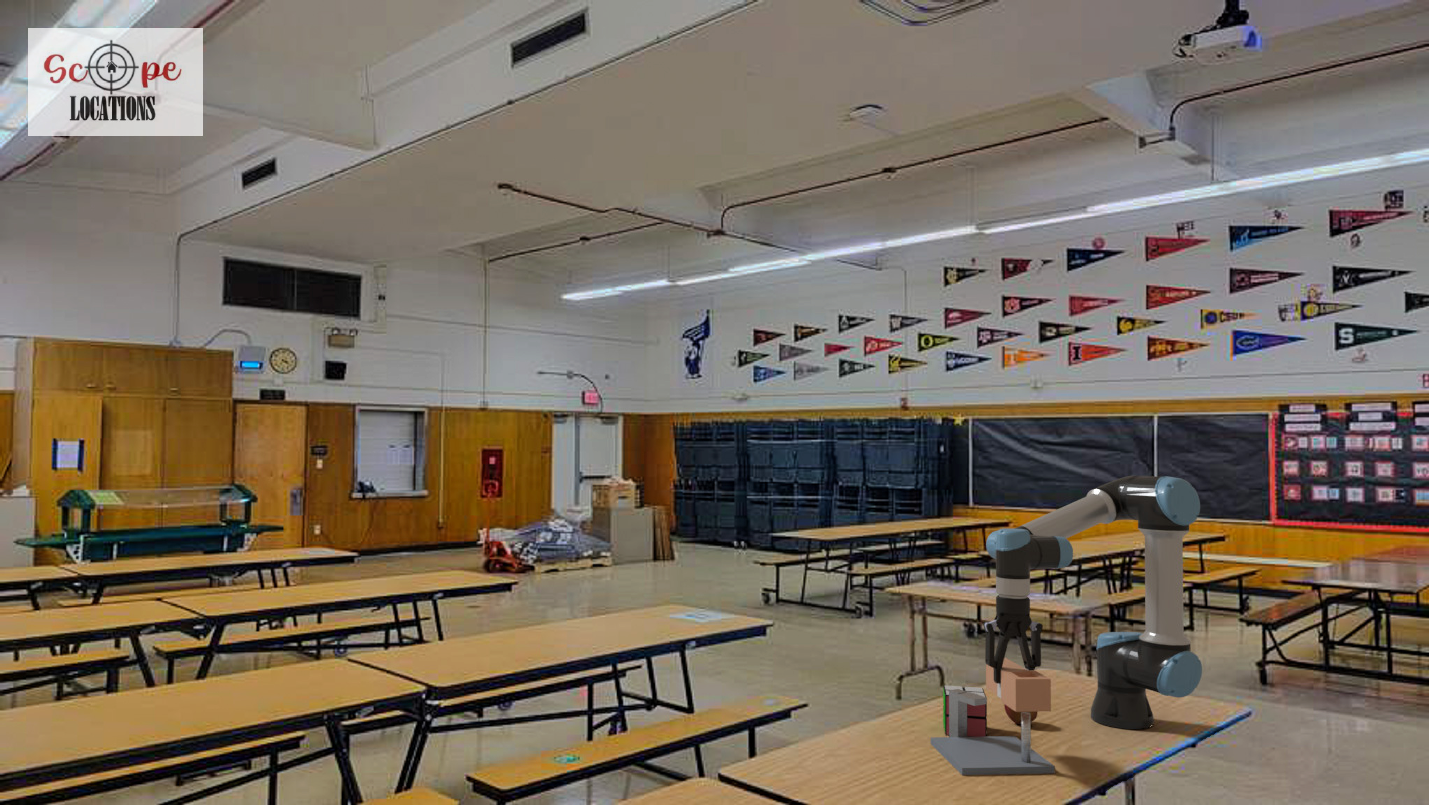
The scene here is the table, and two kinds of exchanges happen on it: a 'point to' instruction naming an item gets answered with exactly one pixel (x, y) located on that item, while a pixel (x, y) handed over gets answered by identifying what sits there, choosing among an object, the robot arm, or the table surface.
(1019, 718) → the apple
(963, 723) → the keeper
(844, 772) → the table surface
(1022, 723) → the peg
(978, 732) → the puzzle cube
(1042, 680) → the tan socket bar
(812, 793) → the table surface
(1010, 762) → the board
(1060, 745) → the table surface
